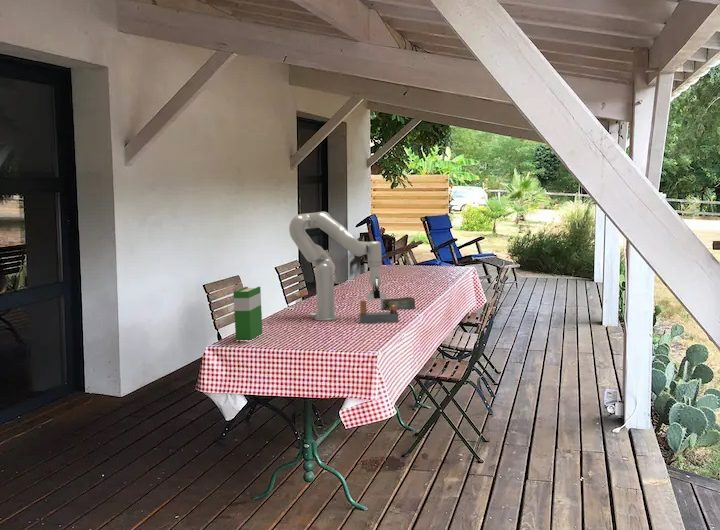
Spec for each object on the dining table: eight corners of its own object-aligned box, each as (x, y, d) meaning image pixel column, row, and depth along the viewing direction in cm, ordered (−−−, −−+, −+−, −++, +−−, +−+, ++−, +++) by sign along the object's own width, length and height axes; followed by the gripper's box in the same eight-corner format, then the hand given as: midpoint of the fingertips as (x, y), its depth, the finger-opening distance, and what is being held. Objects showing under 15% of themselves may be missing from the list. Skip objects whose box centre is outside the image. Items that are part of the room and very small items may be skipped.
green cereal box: (248, 334, 354) (245, 286, 352) (262, 334, 353) (260, 286, 350) (236, 342, 337) (233, 291, 334) (251, 342, 335) (248, 291, 333)
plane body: (360, 323, 373) (359, 302, 372) (359, 321, 380) (358, 300, 379) (398, 322, 375) (397, 300, 373) (396, 319, 381) (396, 298, 380)
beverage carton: (380, 309, 420) (380, 297, 419) (412, 307, 422) (412, 296, 421) (383, 311, 412) (382, 299, 411) (415, 309, 414) (415, 298, 414)
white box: (367, 300, 384) (367, 291, 384) (366, 298, 389) (366, 290, 389) (386, 299, 385) (385, 290, 384) (385, 297, 390) (384, 289, 389)
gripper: (366, 263, 393) (367, 295, 395) (369, 266, 376) (371, 300, 378) (379, 262, 394) (381, 295, 396) (383, 265, 377) (385, 299, 379)
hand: (376, 297), depth 387 cm, fingers closed on white box, 5 cm apart
